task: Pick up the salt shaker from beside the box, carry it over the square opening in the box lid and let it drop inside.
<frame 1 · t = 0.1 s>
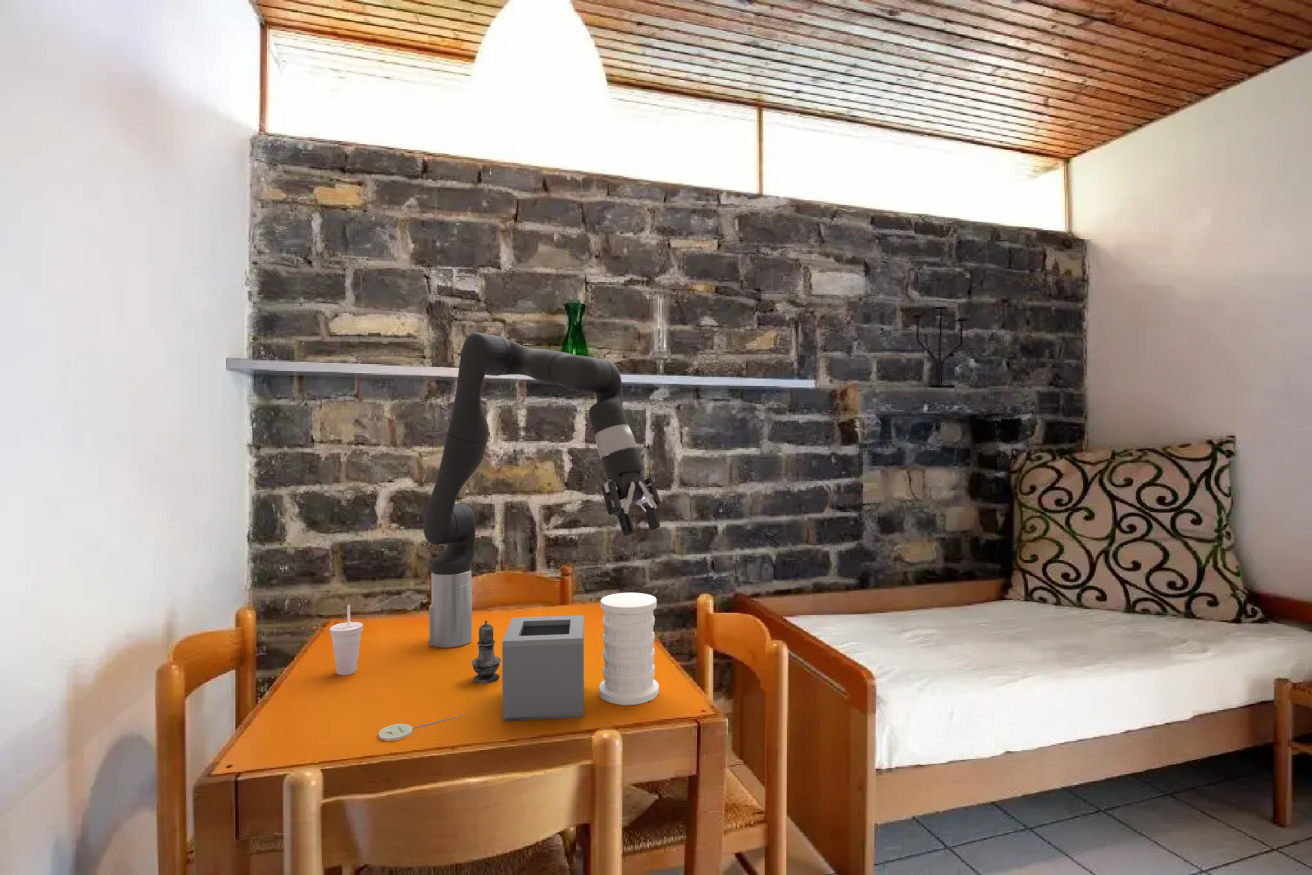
hand: (643, 531, 119), 31 cm above the table, tool tilted 20°, fingers open, 8 cm apart
decorative container: (629, 693, 121), on the table
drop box: (546, 702, 116), on the table
sign: (425, 728, 107), on the table
smoothie: (346, 672, 131), on the table
salt shaker: (486, 679, 128), on the table
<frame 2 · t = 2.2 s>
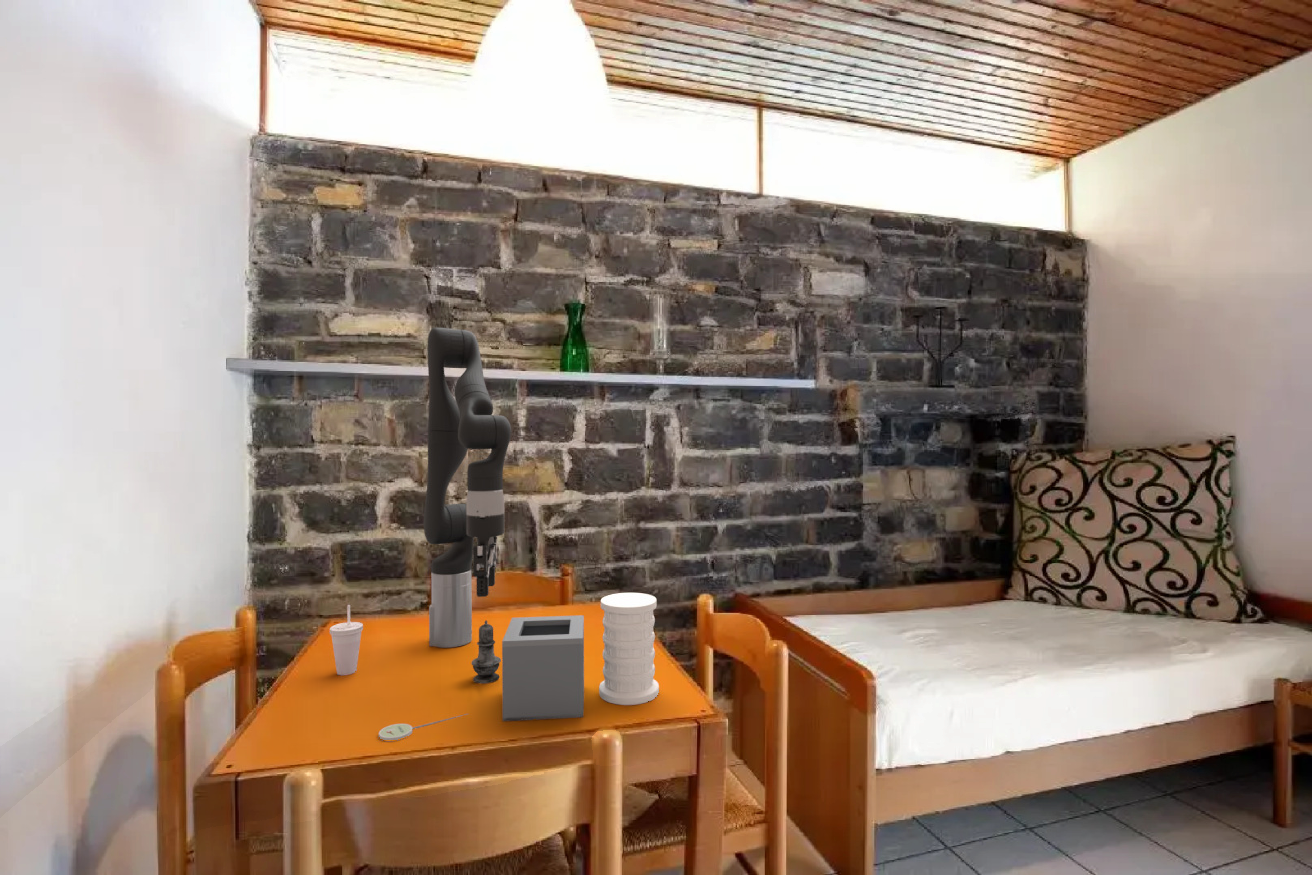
hand: (486, 590, 128), 18 cm above the table, tool pointing down, fingers open, 8 cm apart
nothing on the table moved.
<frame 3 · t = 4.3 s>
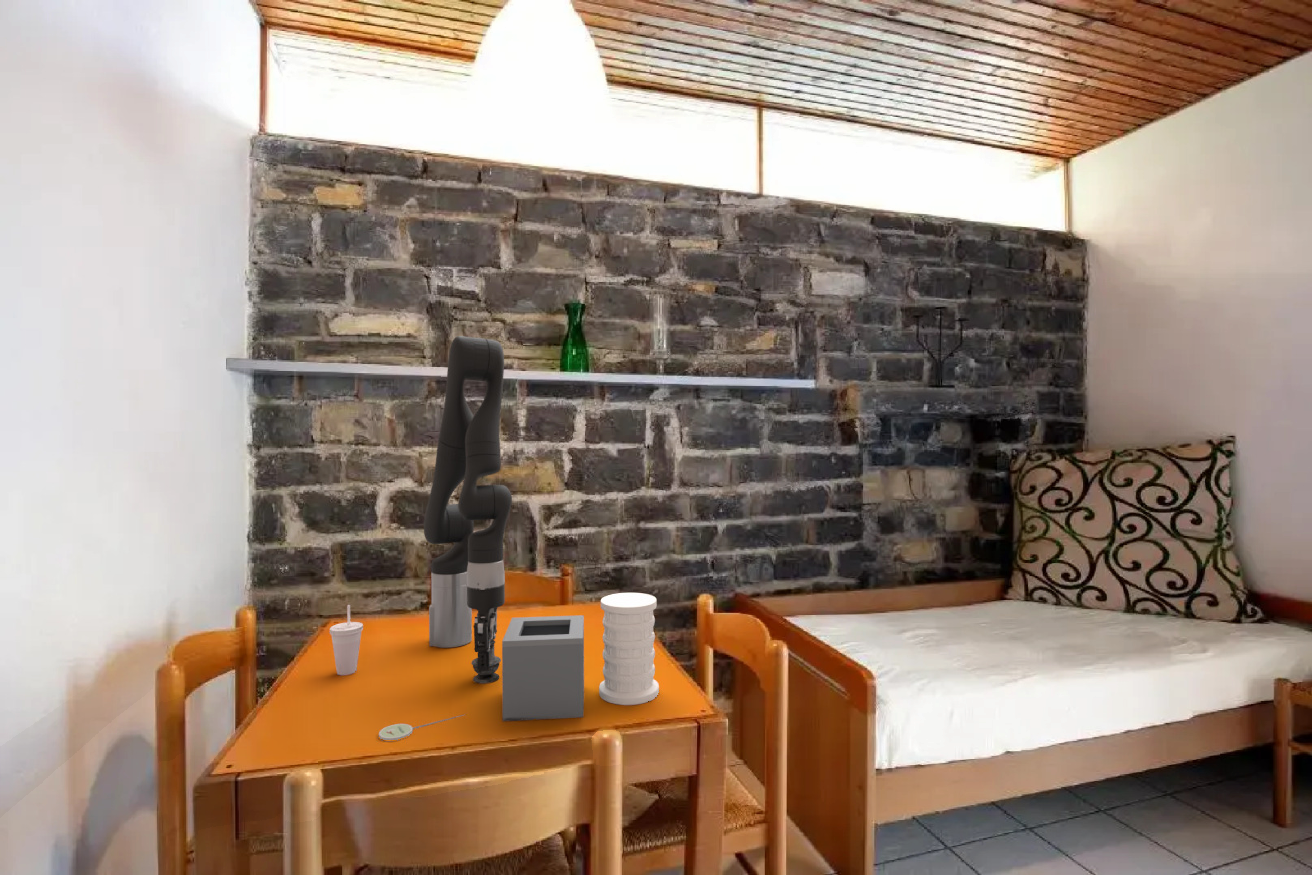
hand: (486, 663, 128), 3 cm above the table, tool pointing down, fingers closed on salt shaker, 6 cm apart
salt shaker: (486, 679, 128), on the table, touching gripper
everything else where it was.
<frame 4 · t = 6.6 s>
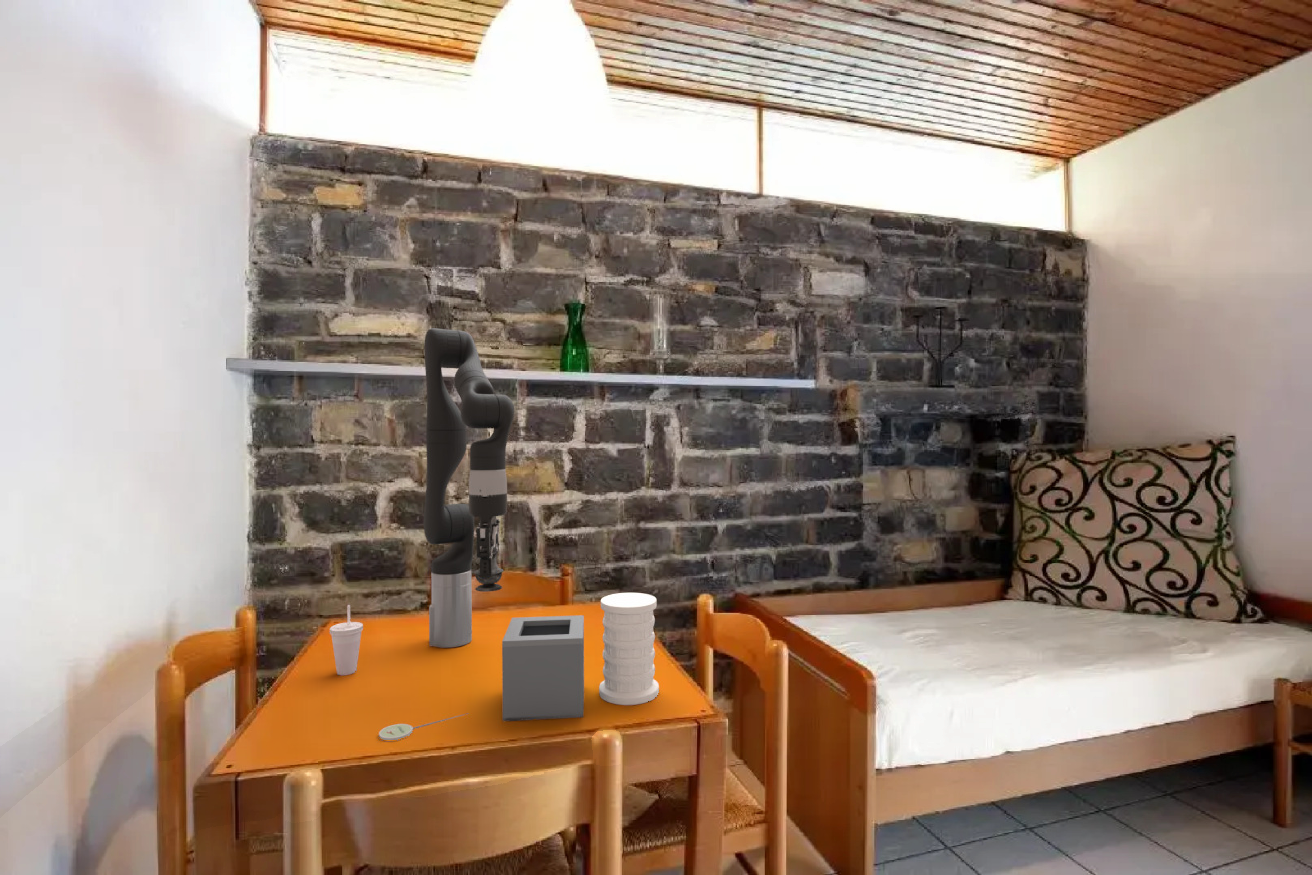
hand: (488, 573, 127), 22 cm above the table, tool pointing down, fingers closed on salt shaker, 6 cm apart
salt shaker: (488, 589, 127), point 18 cm above the table, touching gripper
everything else where it was.
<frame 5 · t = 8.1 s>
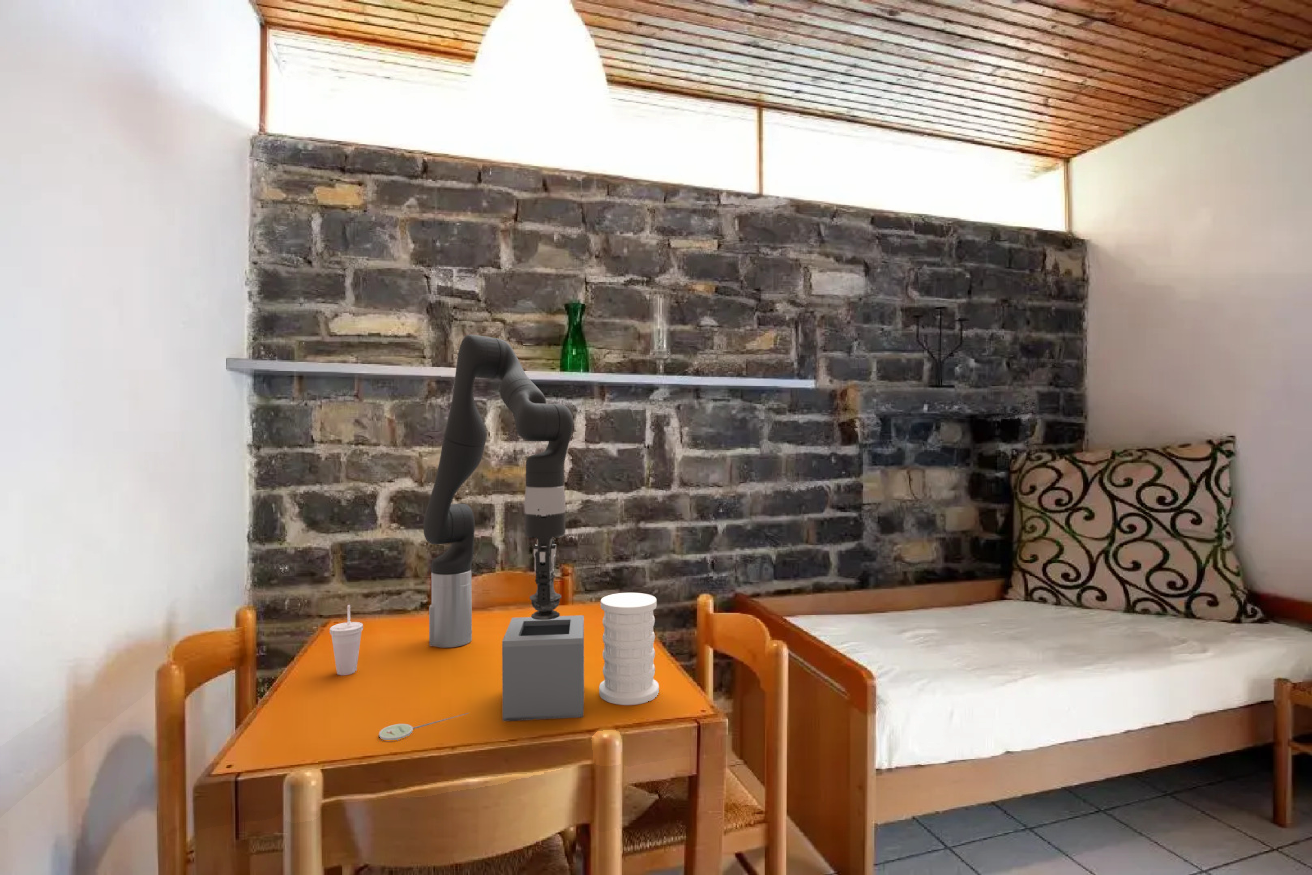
hand: (545, 599, 116), 19 cm above the table, tool pointing down, fingers closed on salt shaker, 6 cm apart
salt shaker: (545, 616, 116), point 16 cm above the table, touching gripper
everything else where it was.
when the fingers open (19 cm above the table, at t = 9.0 s): salt shaker drops 15 cm, resting on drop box.
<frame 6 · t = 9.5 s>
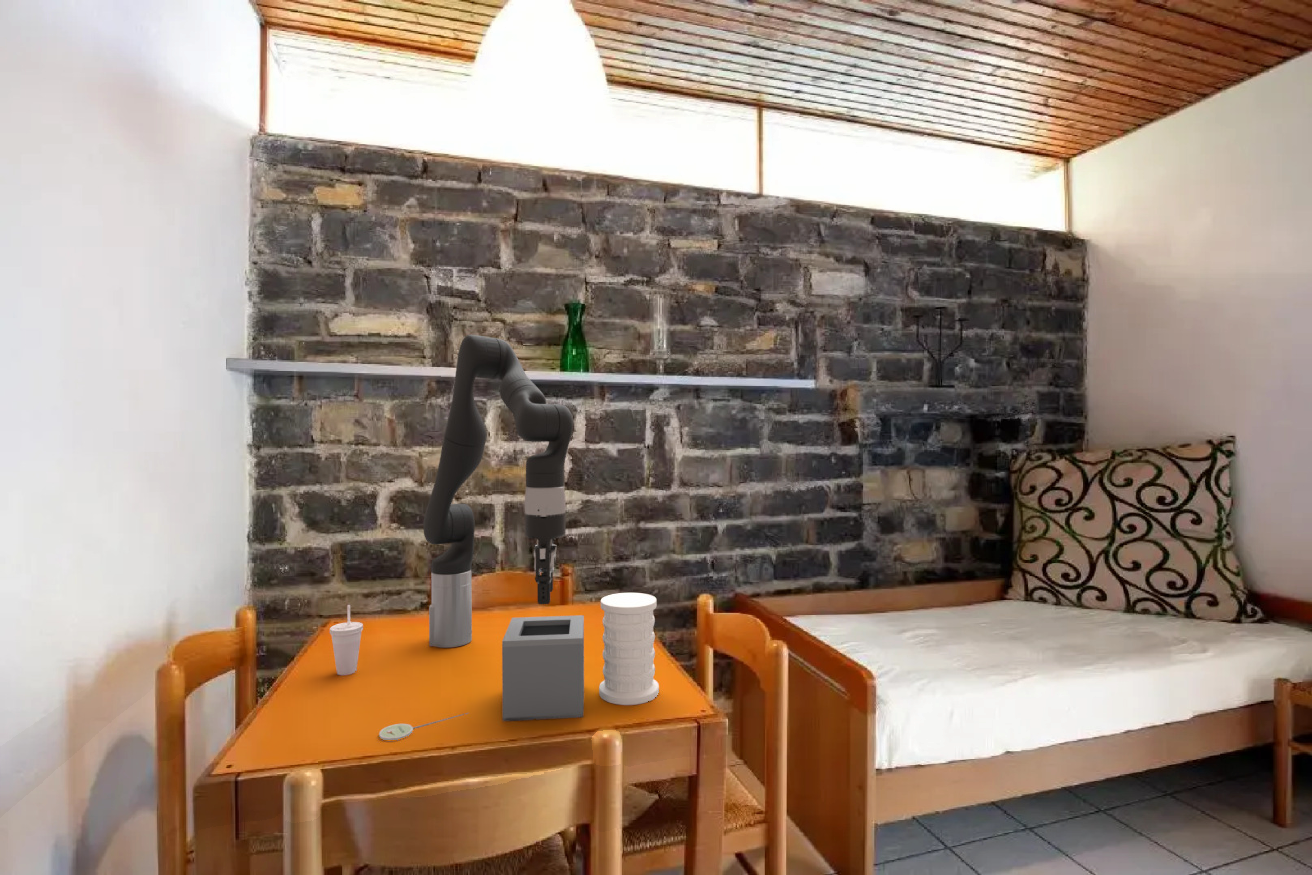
hand: (545, 597, 116), 20 cm above the table, tool pointing down, fingers open, 8 cm apart
salt shaker: (545, 697, 116), point 1 cm above the table, touching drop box
everything else where it was.
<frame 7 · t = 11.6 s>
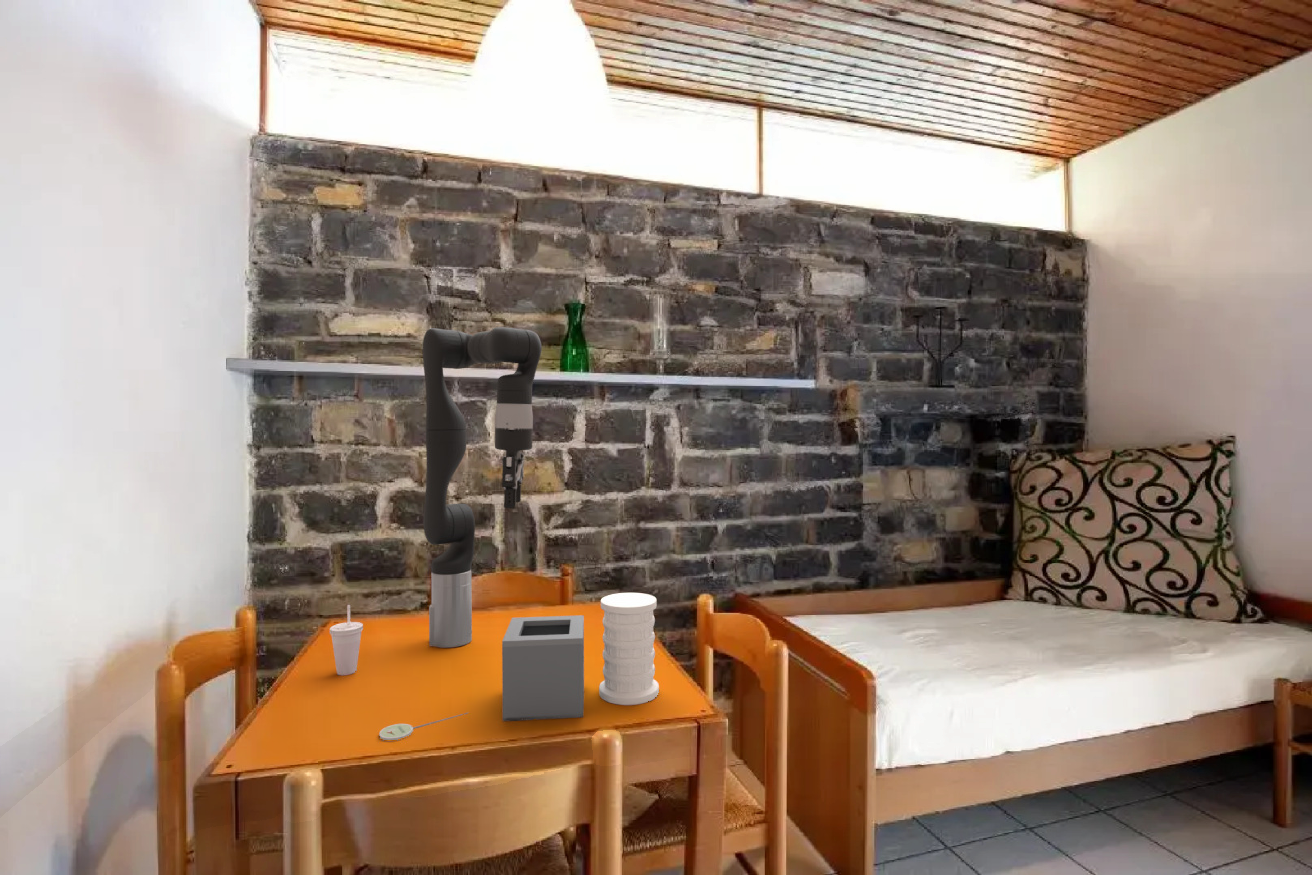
hand: (512, 505, 128), 36 cm above the table, tool pointing down, fingers open, 8 cm apart
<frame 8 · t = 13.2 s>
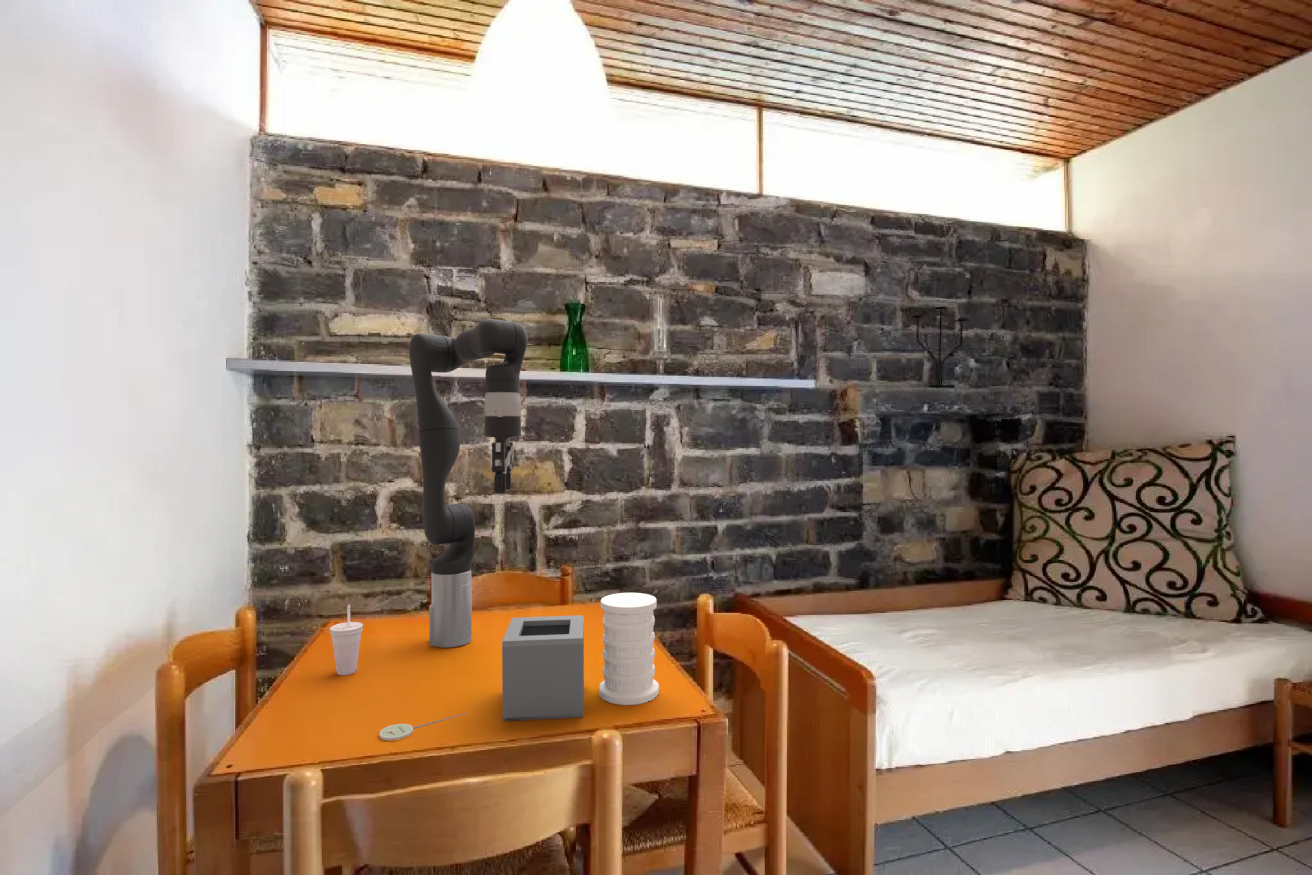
hand: (503, 491, 132), 38 cm above the table, tool pointing down, fingers open, 8 cm apart
at the end: salt shaker inside the target area on the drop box (0.0 cm from its centre), point 0.3 cm above the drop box's base; the gripper is holding nothing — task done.
